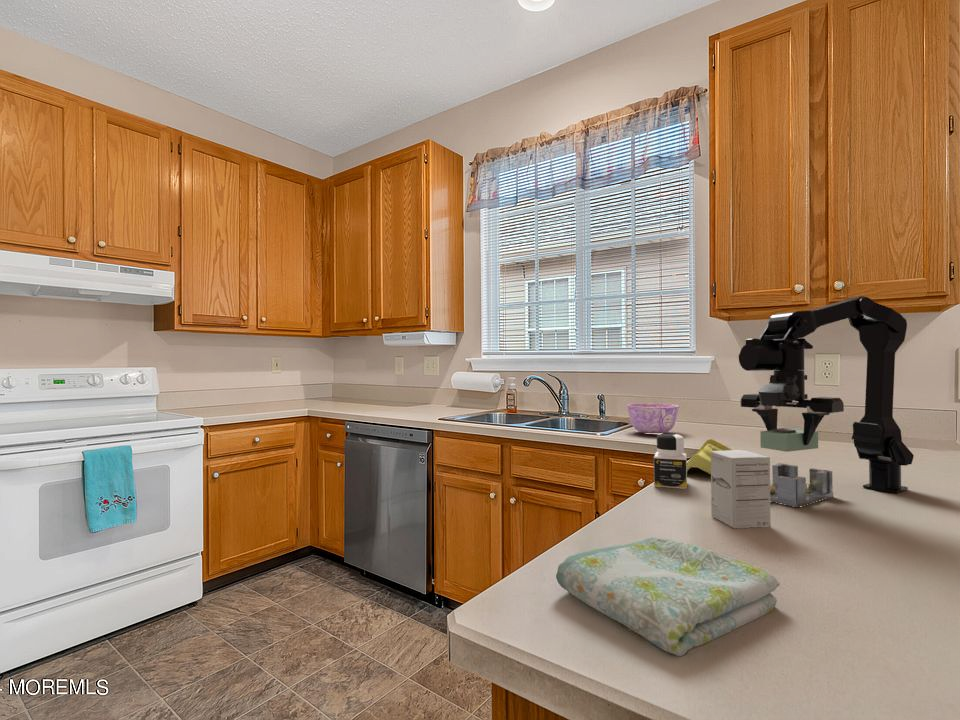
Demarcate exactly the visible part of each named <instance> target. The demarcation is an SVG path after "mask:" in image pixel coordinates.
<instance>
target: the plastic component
mask: <svg viewBox="0 0 960 720" xmlns="http://www.w3.org/2000/svg"><path fill="white" fill-rule="evenodd" d="M725 450H733V449H732V448H730V446H729V447H728V446H727V445H725V444H723V443H721V442H719V441H717V440H715V439H713V438H708V439H707V440H706V441H705V442H704V443H703V444H702V446H701V447H700V448H699V450H698V451H697V452H696V453H695V454H693V455H692V456H691V457H690V459H689V460H688V461H687V472H689V470H691V468H692V467H696V468H698V469H699V470H701V471H703V472H705V473H707V474H709V475H711V451H725Z"/></svg>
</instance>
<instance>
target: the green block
mask: <svg viewBox="0 0 960 720" xmlns="http://www.w3.org/2000/svg"><path fill="white" fill-rule="evenodd" d="M803 436H804V429H798V428H777V429H773V430H770V431H767V430H761V431H760V448H761V449H768V450H772V451H773V450H774V451H781V452H787V453H788V452H796V451H807V450H813V449H815V450H817V449H819V431H815V432H814V434H813V436H812V438H811V440H810V442H809V444H808V445H804V439H803Z"/></svg>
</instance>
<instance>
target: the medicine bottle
mask: <svg viewBox="0 0 960 720" xmlns="http://www.w3.org/2000/svg"><path fill="white" fill-rule="evenodd" d="M684 439H685V438H684V436H682V435H681V434H675V433H664V434H661V435H656V452H655V453H654V455H653V482H654V483H653V485H654V487H656V488H668V489H669V488H670V489H681V490H686V489H687V487H688V478H687V477H688V471H687V463H688V461H687V458H688V457H687V453H685V448H684V447H685V446H684V445H685V443H684V442H685V440H684Z"/></svg>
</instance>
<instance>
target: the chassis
mask: <svg viewBox="0 0 960 720" xmlns="http://www.w3.org/2000/svg"><path fill="white" fill-rule="evenodd" d="M771 467H772V469H771V470H772V484H770V501H771V502H770V503H772V502H777V503H782V504H786V505H790V506H794V507H793V508H795V507H800V506H803V507H805V506H804V505H806V506H808V505H807V504H809V505H811V504H810V503H812V504H814V503H813V502H815V503H817V502H816V501H819V500H822V499H825V498H828V499H830V498H829V497H831V498H833V497H834V492H833V491H834V490H833V488H834V487H833V470H828V469H818V468H813V467H812V468H811V467H810V468H809V484H808V483H807V482H806V481H807V479H806V478H807V477H804V476H799V473H798V472H799V466H798V465H795V464H787V463H781V462H780V463H779V462H778V463H777V464H772V466H771ZM825 500H826V499H825ZM822 501H823V500H822ZM819 502H820V501H819ZM790 506H789V507H790ZM800 508H801V507H800Z"/></svg>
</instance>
